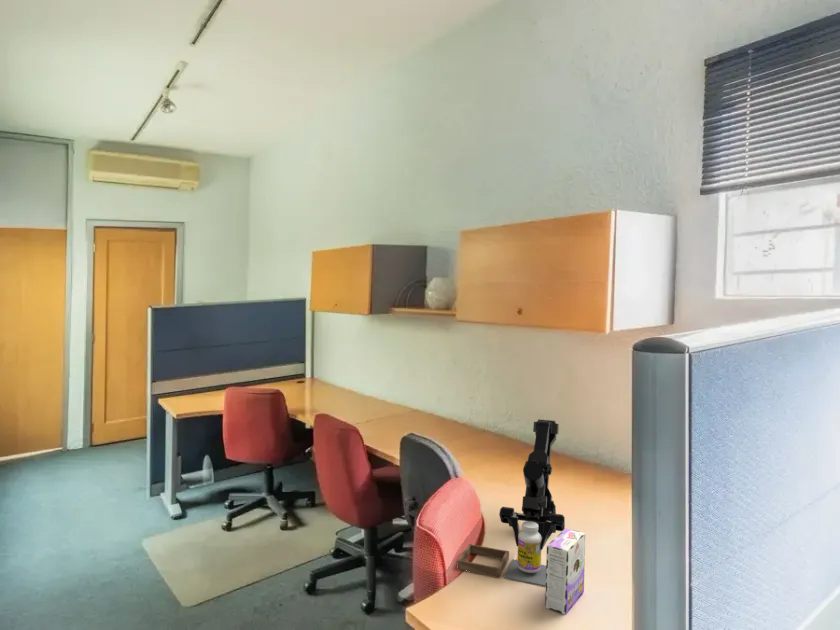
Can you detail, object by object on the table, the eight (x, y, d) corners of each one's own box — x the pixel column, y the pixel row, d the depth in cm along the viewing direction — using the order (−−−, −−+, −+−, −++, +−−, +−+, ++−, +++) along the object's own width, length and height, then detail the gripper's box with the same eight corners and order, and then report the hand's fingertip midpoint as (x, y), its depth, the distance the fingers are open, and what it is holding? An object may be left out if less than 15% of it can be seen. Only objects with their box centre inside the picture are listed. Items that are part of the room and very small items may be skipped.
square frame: (469, 551, 174) (469, 543, 174) (508, 559, 170) (509, 551, 170) (456, 569, 163) (456, 560, 163) (499, 577, 158) (499, 569, 158)
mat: (512, 560, 169) (512, 559, 169) (552, 568, 165) (552, 566, 165) (503, 578, 158) (503, 576, 158) (546, 587, 153) (546, 585, 153)
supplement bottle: (512, 567, 161) (513, 524, 161) (525, 560, 166) (526, 517, 166) (532, 576, 157) (533, 531, 156) (545, 568, 161) (546, 524, 161)
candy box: (563, 586, 154) (565, 527, 154) (584, 593, 151) (586, 532, 150) (544, 607, 143) (545, 544, 142) (566, 615, 139) (568, 550, 139)
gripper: (501, 480, 167) (493, 530, 157) (565, 487, 162) (561, 540, 151) (505, 497, 175) (497, 546, 165) (566, 505, 169) (562, 556, 159)
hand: (528, 547), depth 160 cm, fingers closed on supplement bottle, 6 cm apart
